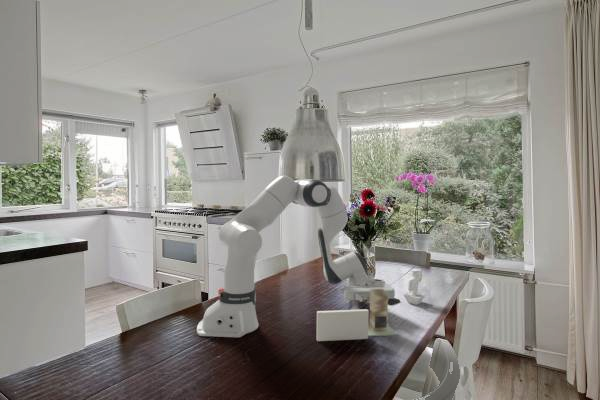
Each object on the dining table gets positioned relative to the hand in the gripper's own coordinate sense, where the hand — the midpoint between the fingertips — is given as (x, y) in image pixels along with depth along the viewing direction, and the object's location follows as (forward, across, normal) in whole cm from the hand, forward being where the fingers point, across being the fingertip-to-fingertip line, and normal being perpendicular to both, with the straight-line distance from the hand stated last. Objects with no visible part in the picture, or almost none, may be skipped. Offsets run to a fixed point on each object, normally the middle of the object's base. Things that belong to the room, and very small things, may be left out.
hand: (374, 299), depth 137 cm
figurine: (-21, +26, +10) cm, 35 cm away
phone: (-27, +13, +10) cm, 32 cm away
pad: (+5, 0, +10) cm, 11 cm away
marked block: (+5, 0, +9) cm, 10 cm away
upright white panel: (+11, -15, +10) cm, 21 cm away
